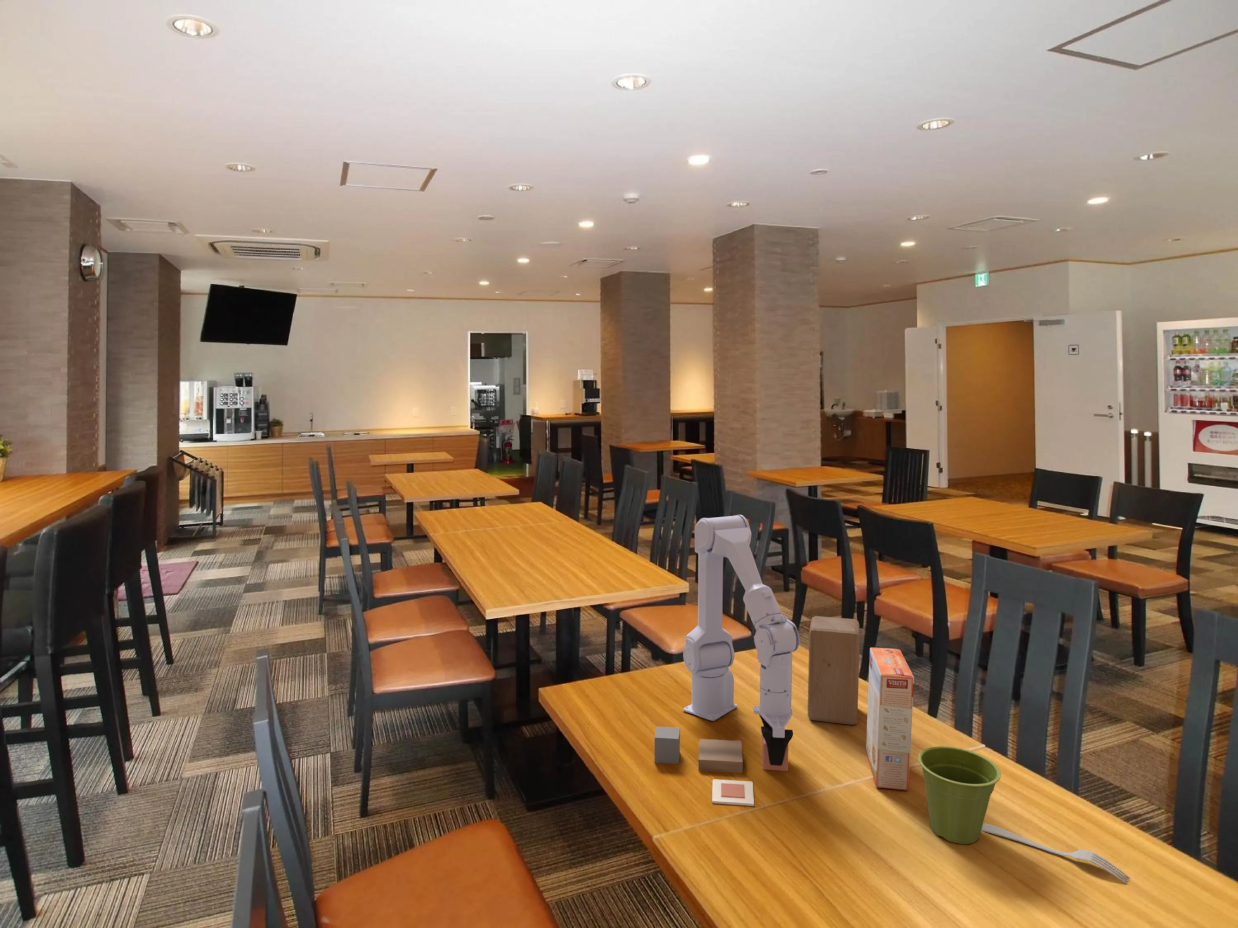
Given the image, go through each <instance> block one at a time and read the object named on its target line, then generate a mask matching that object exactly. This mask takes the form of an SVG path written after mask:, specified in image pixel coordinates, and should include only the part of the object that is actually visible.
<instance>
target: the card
mask: <svg viewBox="0 0 1238 928" xmlns="http://www.w3.org/2000/svg"><path fill="white" fill-rule="evenodd" d="M753 783H754V782H753V781H749V780H745V781H744V780H735V779H734V780H733V779H731V780H729V779H716V778H715V779H714V778H713V779H712V793H711V794H712V796H711V797H712V798H711V799H712V800H711V801H712V802H711V803H712V804H719V805H720V804H721V805H735V806H748V807H749V806H750V807H754V806H755V799H754V797H755V796H754V795H755V794H754V784H753Z"/></svg>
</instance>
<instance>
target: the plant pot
mask: <svg viewBox="0 0 1238 928" xmlns="http://www.w3.org/2000/svg"><path fill="white" fill-rule="evenodd" d="M917 760H918V763H919V766H921V769H922V776H923V779H924V785H925V792H926V793H925V794H926V801H927V811H928V820H929V826H930V828H931V831H933V833H934V834H935V835H936V836H938V837H941V838H943V839H945V840H946V841H948V842H951V843H955V844H959V845H969V844H973V843H975V842H976V841H977V840H978V839H980V835H981V833H982V831H981V829H982V826H983V823H984V821H985V816H986V814H987V810H988V807H989V803H990V799H991V796H992V794H993V792H994V789H995V787H996V784H997V783H998V782H999V781H1000V779H1001V777H1002V773H1001V770H1000V767H998V765H997V764H996V763H994V761H992V760H991V759H989V758H988V757H986V756H984V755H982V754H980V753H977V752H975V751H973V750H969V749H966V748H965V749H964V748H961V747H955V746H945V745H943V746H942V745H941V746H940V745H939V746H930V747H927V748H925V749H923V750H921V751H920V752H919V754H918V756H917Z"/></svg>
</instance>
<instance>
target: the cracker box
mask: <svg viewBox="0 0 1238 928" xmlns="http://www.w3.org/2000/svg"><path fill="white" fill-rule="evenodd" d="M868 659H869V660H868V662H869V663H868V664H869V665H868V691H867V695H868V696H867V715H866V716H867V719H866V736H865V737H866V740H865V741H866V742H865V752H866V756H867V760H868V763H869V766H870V770H871V773H872V774H871V775H872V778H873V781H874V785H875V788H879V789H890V790H899V791H900V790H901V791H909V788H910V787H909V786H910V770H911V769H910V768H911V767H910V766H911V748H912V747H911V746H912V745H911V744H912V731H913V730H912V726H913V705H914V691H915V690H914V689H915V688H914V687H915V677H914V675H913V672H912V670H911V668H910V667H909V665H908V663H907V661H906V659H905V656H904V654H903V653H902V650H901V649H898V648H890V647H889V648H886V647H885V648H884V647H870V648H869V658H868Z"/></svg>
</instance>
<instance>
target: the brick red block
mask: <svg viewBox="0 0 1238 928" xmlns="http://www.w3.org/2000/svg"><path fill="white" fill-rule="evenodd" d="M761 763H762V770H766V771H767V770H768V771H769V770H770V771H786V772H787V771H789V744H788V745H787V748H786V752H785V756H784V760H783V763H782V766H778V765H770V761H769V756H768V748H767V744H766V741H765V739H764V737H763V735H762V734H761Z"/></svg>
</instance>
